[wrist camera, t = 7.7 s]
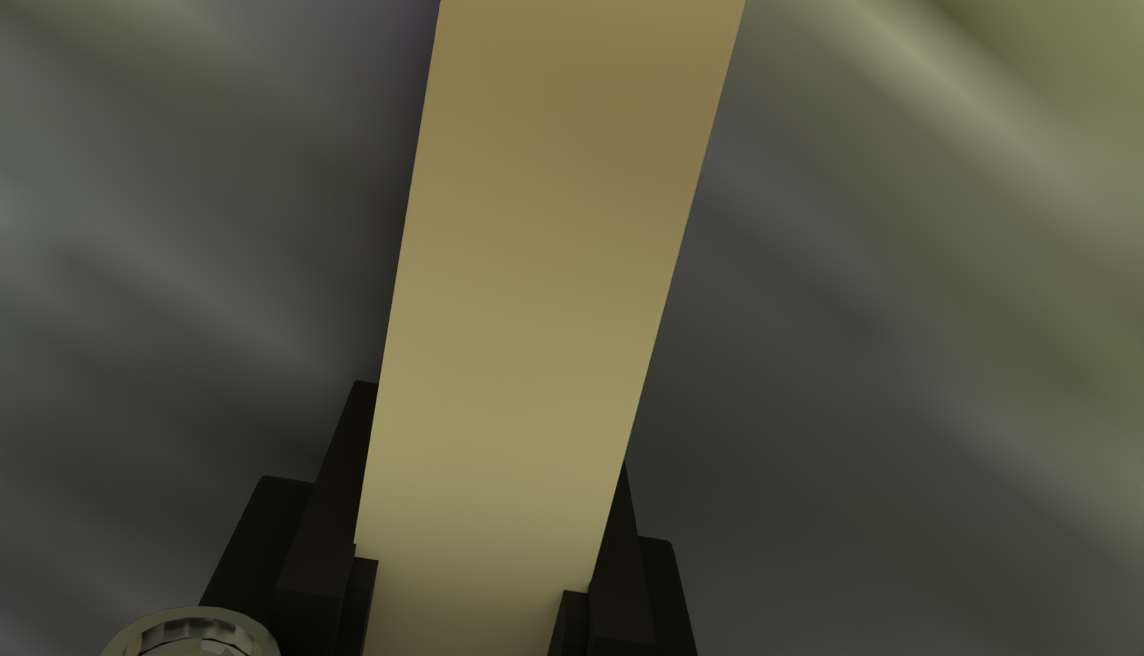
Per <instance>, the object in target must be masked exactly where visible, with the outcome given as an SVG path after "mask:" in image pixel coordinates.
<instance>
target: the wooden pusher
mask: <svg viewBox="0 0 1144 656" xmlns="http://www.w3.org/2000/svg"><path fill="white" fill-rule="evenodd" d="M745 2H746V0H441V1H440V8H439V14H438V20H437V26H436V32H435V39H434V45H433V51H432V57H431V64H430V70H429V76H428V82H427V89H426V95H425V101H424V107H423V114H422V120H421V126H420V132H419V138H418V145H417V151H416V157H415V163H414V170H413V176H412V182H411V188H410V195H409V201H408V207H407V213H406V219H405V226H404V232H403V238H402V244H401V251H400V257H399V263H398V269H397V276H396V282H395V288H394V294H393V301H392V307H391V313H390V319H389V325H388V332H387V338H386V344H385V350H384V357H383V363H382V369H381V375H380V382H379V388H378V394H377V400H376V407H375V413H374V419H373V425H372V431H371V438H370V444H369V450H368V456H367V463H366V469H365V475H364V481H363V488H362V494H361V500H360V506H359V512H358V519H357V525H356V531H355V537H354V544H357V545H356V552H355V557H361V558H367V559H374V560H379V562H378V568H377V574H376V580H375V586H374V592H373V598H372V603H371V609H370V615H369V621H368V627H367V633H366V638H365V644H364V650H363V656H547V654H548V650H549V646H550V642H551V638H552V634H553V630H554V626H555V622H556V618H557V614H558V610H559V607H560V603H561V599H562V595H563V591H564V590H569V591H576V592H582V593H588V587H589V583H590V581H591V579H592V575H593V571H594V568H595V564H596V560H597V556H598V553H599V549H600V545H601V541H602V538H603V534H604V530H605V526H606V523H607V519H608V515H609V511H610V508H611V504H612V500H613V497H614V493H615V489H616V485H617V482H618V478H619V474H620V470H621V467H622V463H623V459H624V455H625V452H626V448H627V444H628V440H629V437H630V433H631V429H632V425H633V422H634V418H635V414H636V410H637V407H638V403H639V399H640V395H641V392H642V388H643V384H644V380H645V377H646V373H647V369H648V365H649V362H650V358H651V354H652V351H653V347H654V343H655V339H656V336H657V332H658V328H659V324H660V321H661V317H662V313H663V309H664V306H665V302H666V298H667V294H668V291H669V287H670V283H671V279H672V276H673V272H674V268H675V264H676V261H677V257H678V253H679V249H680V246H681V242H682V238H683V234H684V231H685V227H686V223H687V219H688V216H689V212H690V208H691V204H692V201H693V197H694V193H695V190H696V186H697V182H698V178H699V175H700V171H701V167H702V163H703V160H704V156H705V152H706V148H707V145H708V141H709V137H710V133H711V130H712V126H713V122H714V118H715V115H716V111H717V107H718V103H719V100H720V96H721V92H722V88H723V85H724V81H725V77H726V73H727V70H728V66H729V62H730V58H731V55H732V51H733V47H734V44H735V40H736V36H737V32H738V29H739V25H740V21H741V17H742V14H743V10H744V6H745Z"/></svg>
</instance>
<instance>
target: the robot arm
mask: <svg viewBox="0 0 1144 656" xmlns="http://www.w3.org/2000/svg"><path fill="white" fill-rule="evenodd" d="M378 388H379V384H375V383H369V382H364V381H358V380H355V382H354V384H353V386H352V389H351V392H350V394H349V397H348V399H347V402H346V405H345V407H344V410H343V412H342V415H341V418H340V420H339V423H338V425H337V428H336V430H335V433H334V436H333V438H332V441H331V443H330V446H329V449H328V451H327V454H326V456H325V459H324V461H323V464H322V467H321V469H320V472H319V474H318V477H317V480H316V482H315V483H310V482H304V481H298V480H292V479H285V478H279V477H273V476H267V475H265V476H262V478H261V479H260V481H259V482H258V484H257V486H256V488H255V490H254V492H253V494H252V496H251V498H250V501H249V503H248V505H247V507H246V509H245V511H244V513H243V515H242V517H241V519H240V521H239V523H238V525H237V527H236V529H235V531H234V533H233V535H232V537H231V539H230V541H229V543H228V545H227V548H226V550H225V552H224V554H223V556H222V558H221V560H220V562H219V564H218V566H217V568H216V570H215V572H214V574H213V576H212V578H211V580H210V582H209V584H208V586H207V588H206V590H205V593H204V595H203V597H202V599H201V601H200V603H199V605H198V606H187V607H180V608H172V609H166V610H163V611H160V612H157V613H154V614H151V615H148V616H145V617H142V618H140V619H139V620H137V621H135V622H134V623H132V624H131V625H129V626H127V627H126V628H124V629H122V630H121V631H119V633H118V634H117V635H116V636H115V637H114V638H113V639H112V640H111V641H110V643H109V644H108V645H107V646H106V647H105V648H104V650H103V651H102V653H101V655H100V656H363V650H364V644H365V638H366V633H367V627H368V621H369V615H370V609H371V603H372V598H373V592H374V586H375V580H376V574H377V568H378V562H379V560H374V559H367V558H361V557H355V552H356V545H357V544H354V537H355V531H356V525H357V519H358V512H359V506H360V500H361V494H362V488H363V481H364V475H365V469H366V463H367V456H368V450H369V444H370V438H371V431H372V425H373V419H374V413H375V407H376V400H377V394H378ZM547 656H698V654H697V650H696V646H695V641H694V637H693V633H692V628H691V624H690V619H689V615H688V611H687V606H686V602H685V598H684V593H683V589H682V585H681V580H680V576H679V571H678V567H677V563H676V558H675V554H674V550H673V547H672V545H671V543H670V542H669V541H667V540H661V539H655V538H649V537H643V536H638V534H637V528H636V522H635V517H634V511H633V505H632V500H631V494H630V488H629V483H628V477H627V471H626V465H625V460H624V459H623V463H622V467H621V470H620V474H619V478H618V482H617V485H616V489H615V493H614V497H613V500H612V504H611V508H610V511H609V515H608V519H607V523H606V526H605V530H604V534H603V538H602V541H601V545H600V549H599V553H598V556H597V560H596V564H595V568H594V571H593V575H592V579H591V581H590V583H589V587H588V593H582V592H576V591H569V590H564V591H563V595H562V599H561V603H560V607H559V610H558V614H557V618H556V622H555V626H554V630H553V634H552V638H551V642H550V646H549V650H548V654H547Z"/></svg>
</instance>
